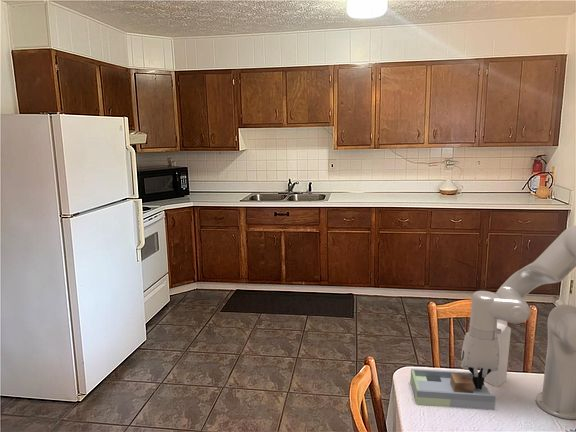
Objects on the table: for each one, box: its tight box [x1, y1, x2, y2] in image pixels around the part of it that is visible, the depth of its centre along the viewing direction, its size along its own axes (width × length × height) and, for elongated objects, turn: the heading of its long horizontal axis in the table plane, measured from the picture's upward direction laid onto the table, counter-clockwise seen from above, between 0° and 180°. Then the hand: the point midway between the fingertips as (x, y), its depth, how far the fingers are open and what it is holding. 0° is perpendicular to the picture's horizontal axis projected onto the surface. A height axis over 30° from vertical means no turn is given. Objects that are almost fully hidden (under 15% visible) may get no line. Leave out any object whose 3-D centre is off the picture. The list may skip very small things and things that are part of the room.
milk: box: [484, 319, 512, 388], centre depth 144 cm, size 6×6×22 cm
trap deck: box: [410, 368, 496, 411], centre depth 138 cm, size 22×13×4 cm, turn 83°
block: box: [450, 373, 474, 393], centre depth 137 cm, size 6×6×4 cm
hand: (477, 386), depth 136 cm, fingers closed
